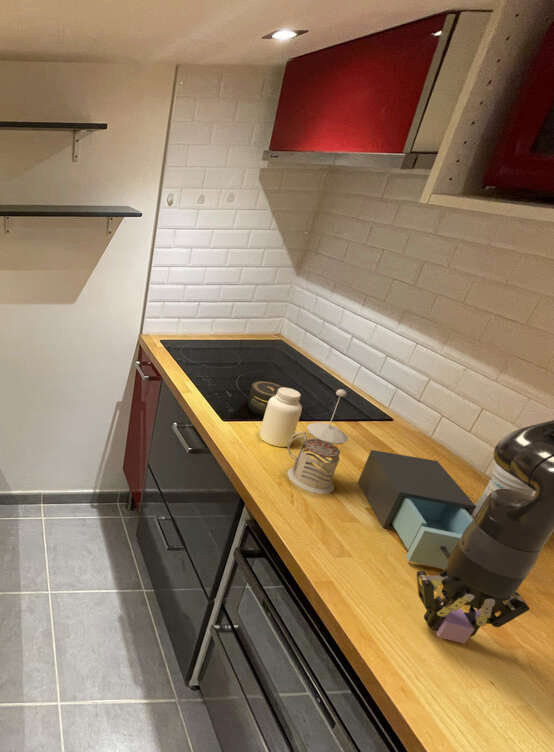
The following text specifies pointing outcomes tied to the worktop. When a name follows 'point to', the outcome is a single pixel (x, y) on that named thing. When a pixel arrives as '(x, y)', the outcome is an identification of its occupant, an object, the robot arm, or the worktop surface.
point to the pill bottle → (281, 417)
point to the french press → (307, 472)
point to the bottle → (501, 486)
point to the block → (455, 627)
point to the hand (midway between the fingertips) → (446, 629)
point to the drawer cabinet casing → (407, 484)
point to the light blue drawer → (430, 530)
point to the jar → (261, 396)
